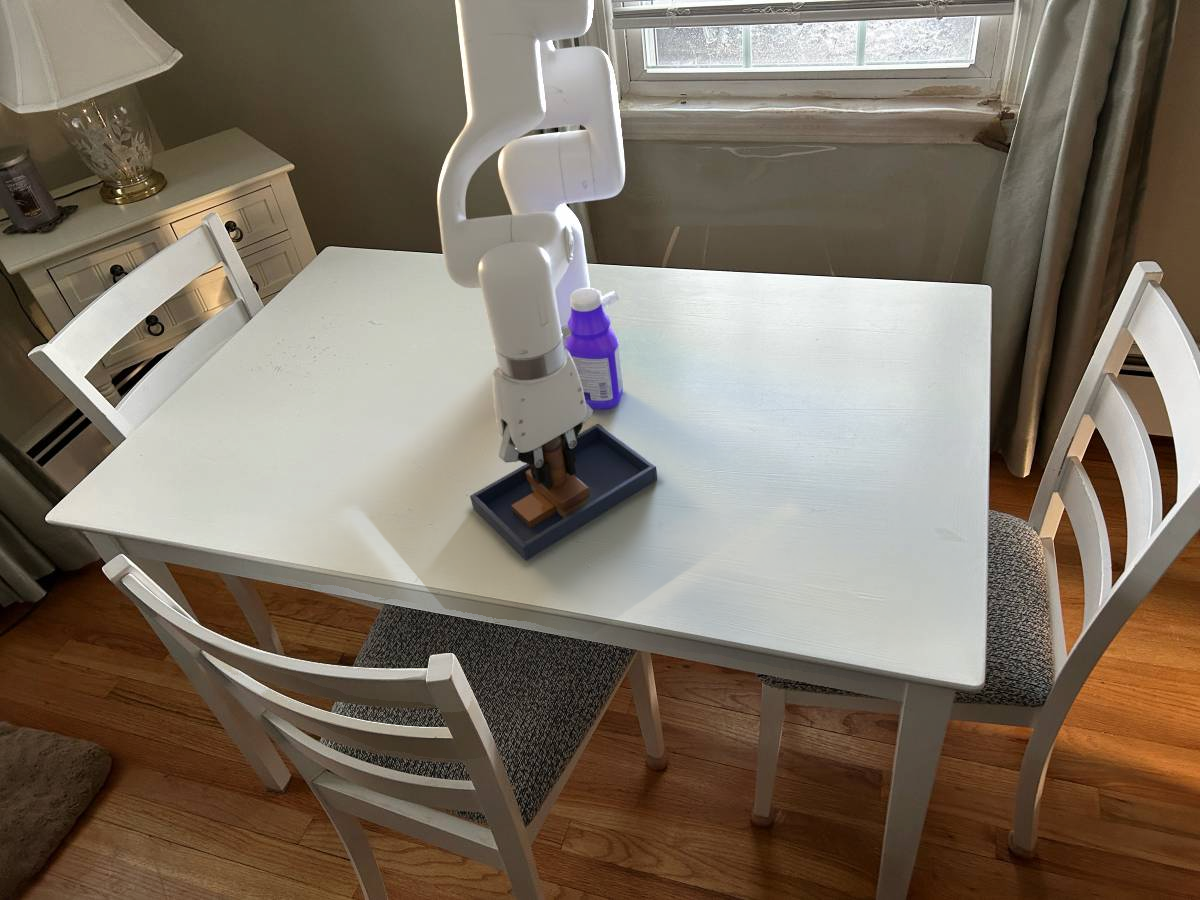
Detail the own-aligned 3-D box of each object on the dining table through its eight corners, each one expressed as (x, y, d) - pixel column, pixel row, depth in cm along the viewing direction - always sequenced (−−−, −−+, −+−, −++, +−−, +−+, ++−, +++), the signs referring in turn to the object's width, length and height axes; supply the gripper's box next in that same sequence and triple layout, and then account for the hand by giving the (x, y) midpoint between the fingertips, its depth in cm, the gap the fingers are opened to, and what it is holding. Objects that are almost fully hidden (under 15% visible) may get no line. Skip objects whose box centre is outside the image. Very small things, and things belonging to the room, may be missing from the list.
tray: (600, 438, 123) (597, 423, 121) (657, 482, 115) (656, 466, 113) (474, 511, 115) (469, 495, 113) (526, 563, 107) (522, 547, 105)
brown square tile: (538, 496, 115) (537, 489, 114) (556, 512, 112) (555, 505, 111) (512, 512, 113) (510, 505, 112) (530, 528, 110) (528, 521, 110)
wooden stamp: (554, 474, 117) (541, 408, 110) (591, 505, 112) (579, 437, 105) (529, 489, 116) (514, 423, 109) (565, 521, 111) (552, 453, 103)
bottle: (629, 391, 130) (617, 285, 119) (617, 415, 126) (603, 308, 115) (582, 386, 132) (565, 281, 121) (569, 409, 128) (550, 304, 117)
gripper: (570, 311, 106) (589, 432, 117) (451, 371, 99) (484, 493, 111) (609, 336, 101) (625, 459, 113) (486, 400, 94) (517, 525, 106)
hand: (555, 475), depth 112 cm, fingers closed on wooden stamp, 2 cm apart
